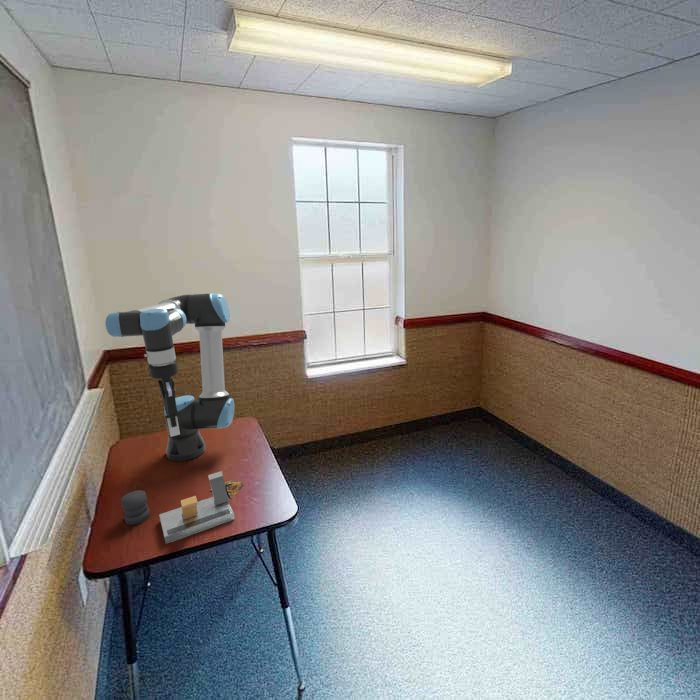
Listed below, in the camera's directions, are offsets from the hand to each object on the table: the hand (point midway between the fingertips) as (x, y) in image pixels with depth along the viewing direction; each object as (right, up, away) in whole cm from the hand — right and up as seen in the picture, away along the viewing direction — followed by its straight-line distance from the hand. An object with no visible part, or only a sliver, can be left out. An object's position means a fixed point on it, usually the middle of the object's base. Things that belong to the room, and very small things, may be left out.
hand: (175, 434), depth 129 cm
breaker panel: (+6, -27, +1) cm, 28 cm away
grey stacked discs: (-13, -27, +4) cm, 31 cm away
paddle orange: (+5, -25, 0) cm, 25 cm away
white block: (+13, -23, +5) cm, 27 cm away
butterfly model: (+12, -23, +18) cm, 31 cm away
